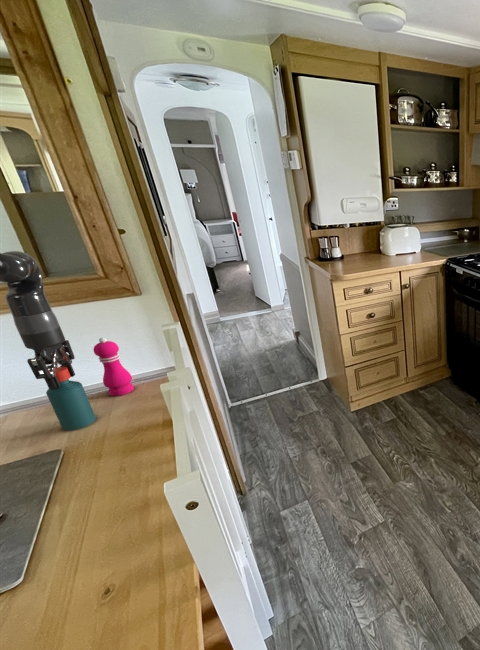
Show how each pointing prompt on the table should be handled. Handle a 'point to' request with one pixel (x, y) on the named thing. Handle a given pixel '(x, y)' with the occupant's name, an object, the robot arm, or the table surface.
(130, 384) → the pepper mill
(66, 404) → the bottle
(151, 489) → the table surface
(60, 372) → the cap
